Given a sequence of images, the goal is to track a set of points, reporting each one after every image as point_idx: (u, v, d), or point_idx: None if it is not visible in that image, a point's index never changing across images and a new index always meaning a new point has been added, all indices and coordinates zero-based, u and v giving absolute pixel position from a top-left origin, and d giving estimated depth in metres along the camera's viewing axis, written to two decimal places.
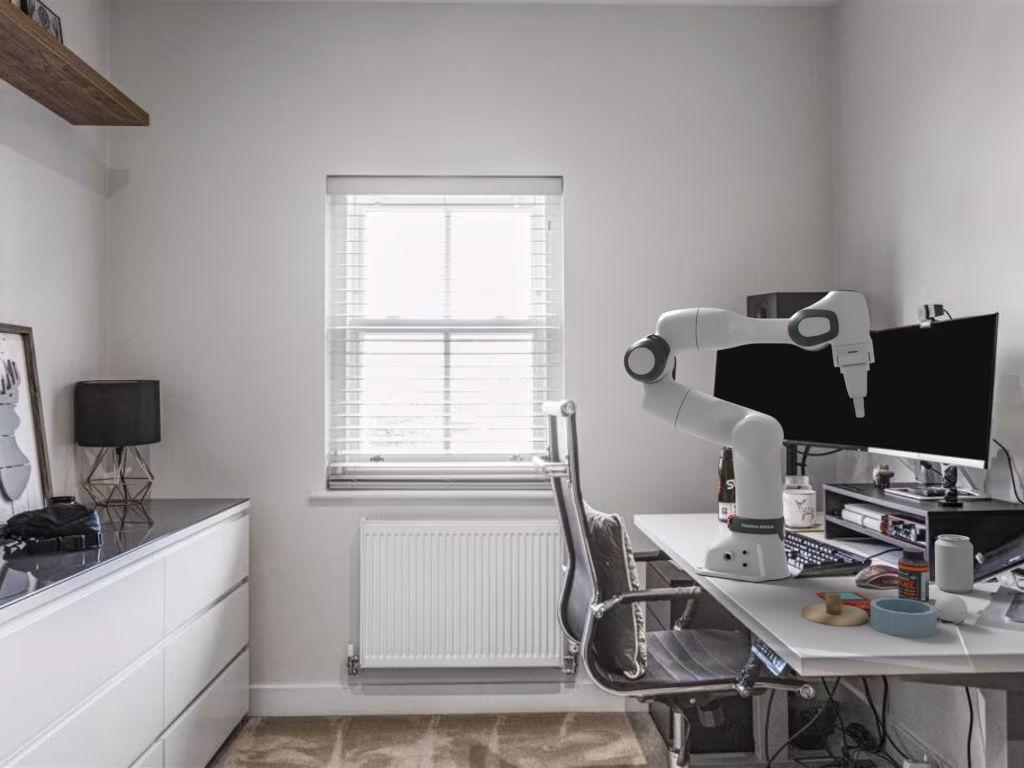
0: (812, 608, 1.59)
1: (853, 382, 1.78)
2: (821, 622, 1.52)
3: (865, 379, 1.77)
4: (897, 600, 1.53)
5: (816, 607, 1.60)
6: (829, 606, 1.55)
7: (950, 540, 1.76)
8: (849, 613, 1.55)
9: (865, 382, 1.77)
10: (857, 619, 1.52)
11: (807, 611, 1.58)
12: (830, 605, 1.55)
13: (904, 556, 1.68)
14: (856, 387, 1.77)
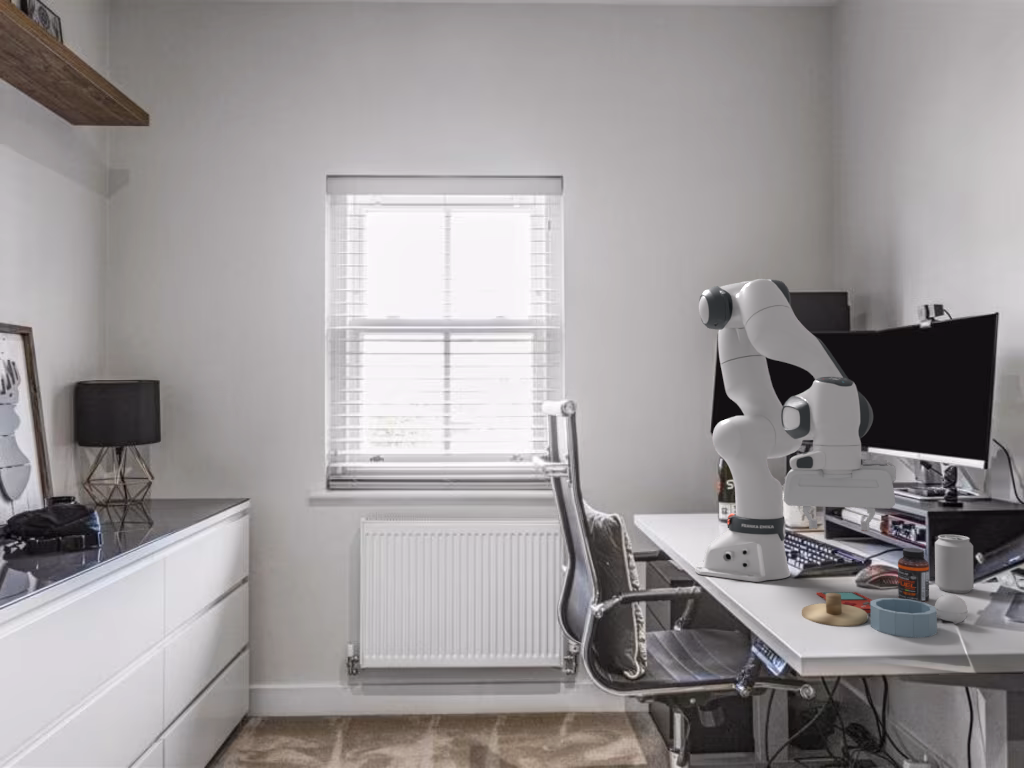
0: (812, 608, 1.59)
1: None
2: (821, 622, 1.52)
3: (785, 486, 1.58)
4: (897, 600, 1.53)
5: (816, 607, 1.60)
6: (829, 606, 1.55)
7: (950, 540, 1.76)
8: (849, 614, 1.55)
9: (784, 490, 1.58)
10: (857, 619, 1.52)
11: (807, 611, 1.58)
12: (830, 605, 1.55)
13: (904, 556, 1.68)
14: None
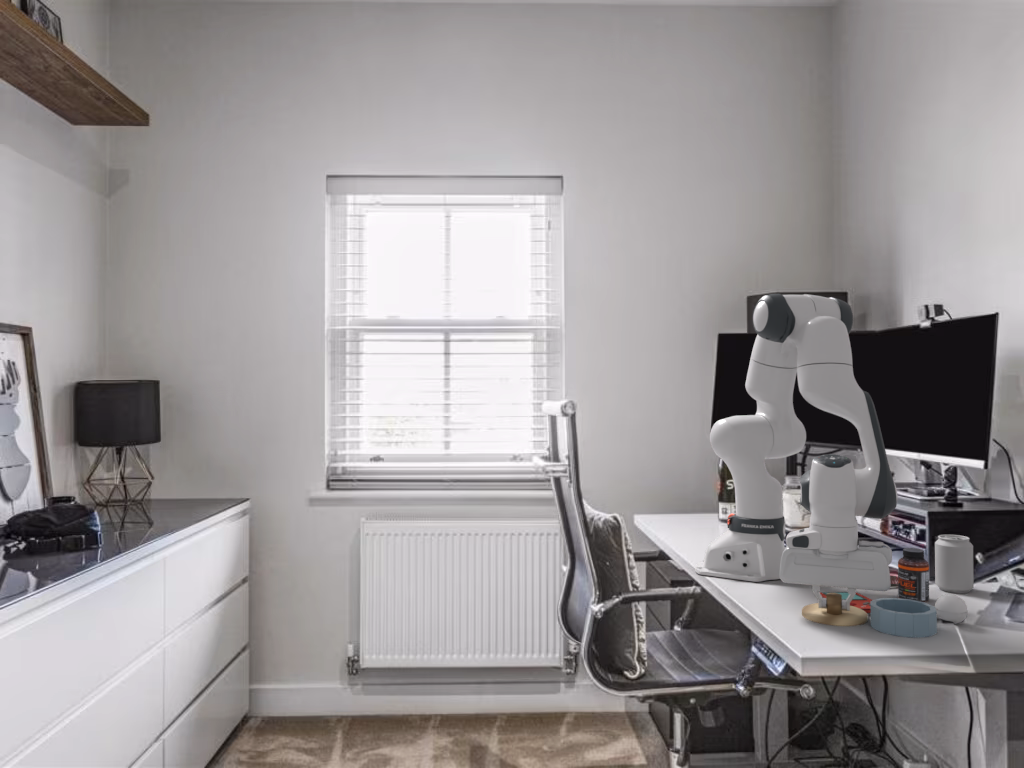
0: (813, 607, 1.59)
1: None
2: (821, 622, 1.52)
3: (780, 564, 1.58)
4: (897, 600, 1.53)
5: (816, 606, 1.60)
6: (829, 606, 1.55)
7: (950, 540, 1.76)
8: (849, 614, 1.55)
9: (780, 567, 1.58)
10: (857, 620, 1.52)
11: (807, 610, 1.58)
12: (831, 605, 1.55)
13: (904, 556, 1.68)
14: None
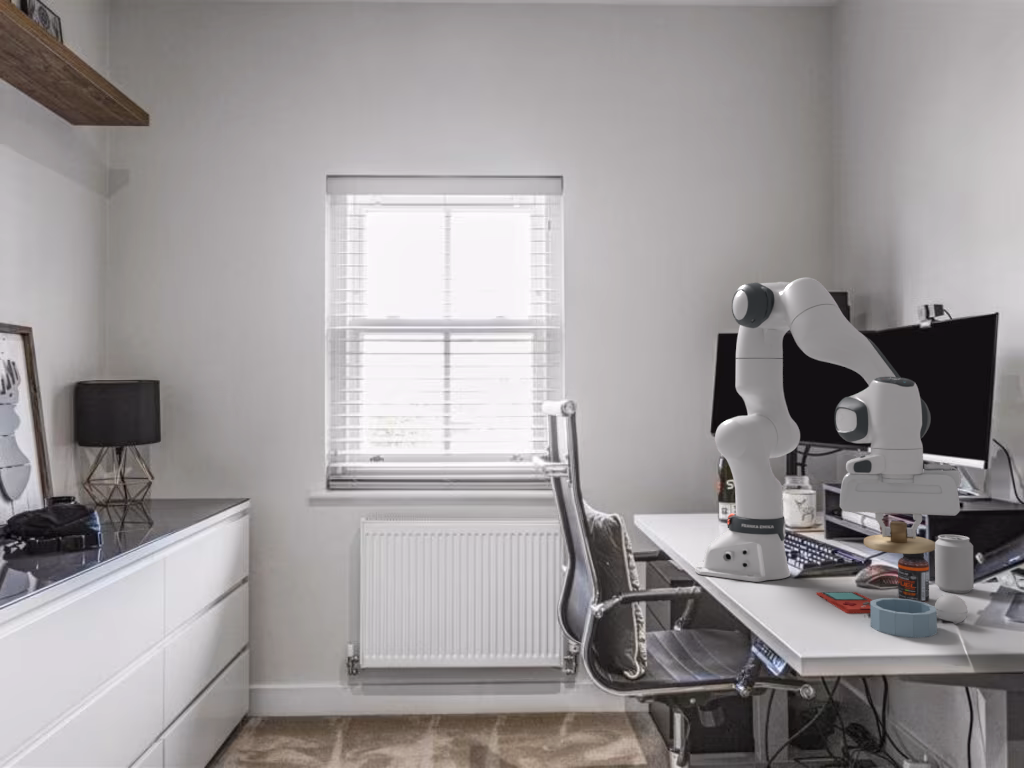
0: (875, 538, 1.52)
1: None
2: (887, 549, 1.44)
3: (841, 491, 1.51)
4: (897, 600, 1.53)
5: (878, 537, 1.52)
6: (894, 534, 1.48)
7: (950, 540, 1.76)
8: (915, 542, 1.47)
9: (840, 495, 1.51)
10: (925, 546, 1.44)
11: (870, 540, 1.50)
12: (896, 533, 1.48)
13: (904, 556, 1.68)
14: None
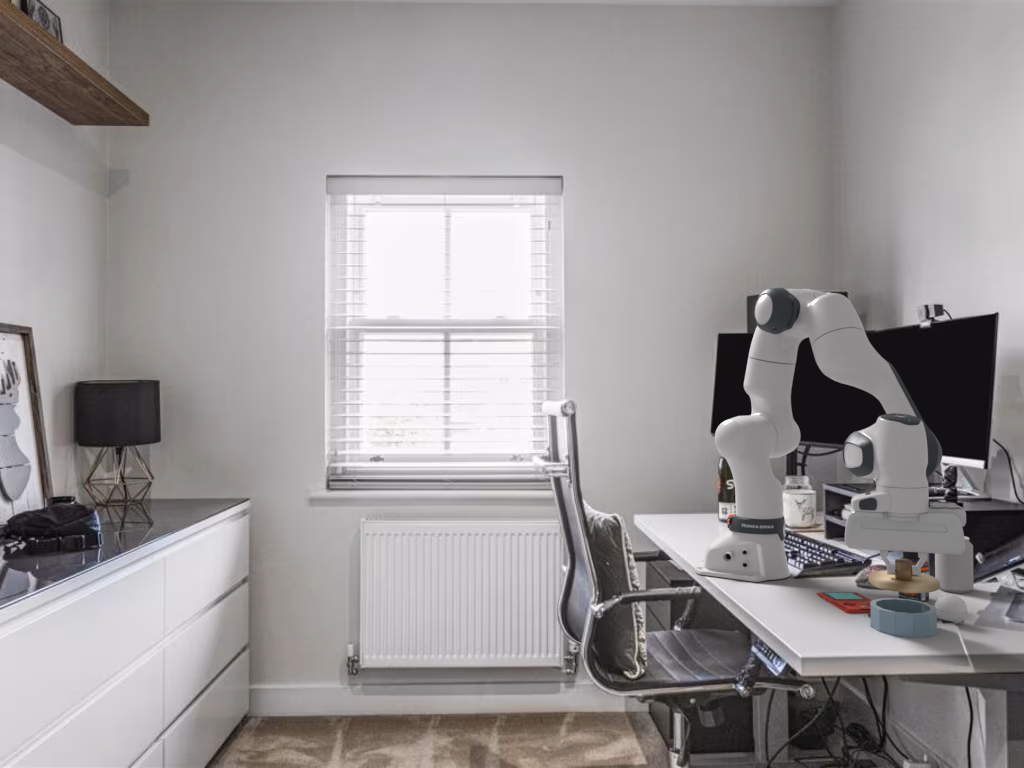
0: (879, 574, 1.52)
1: None
2: (892, 588, 1.44)
3: (846, 528, 1.51)
4: (897, 600, 1.53)
5: (883, 573, 1.52)
6: (899, 572, 1.48)
7: None
8: (920, 580, 1.47)
9: (845, 532, 1.51)
10: (930, 586, 1.44)
11: (875, 577, 1.50)
12: (901, 571, 1.47)
13: (904, 556, 1.68)
14: None
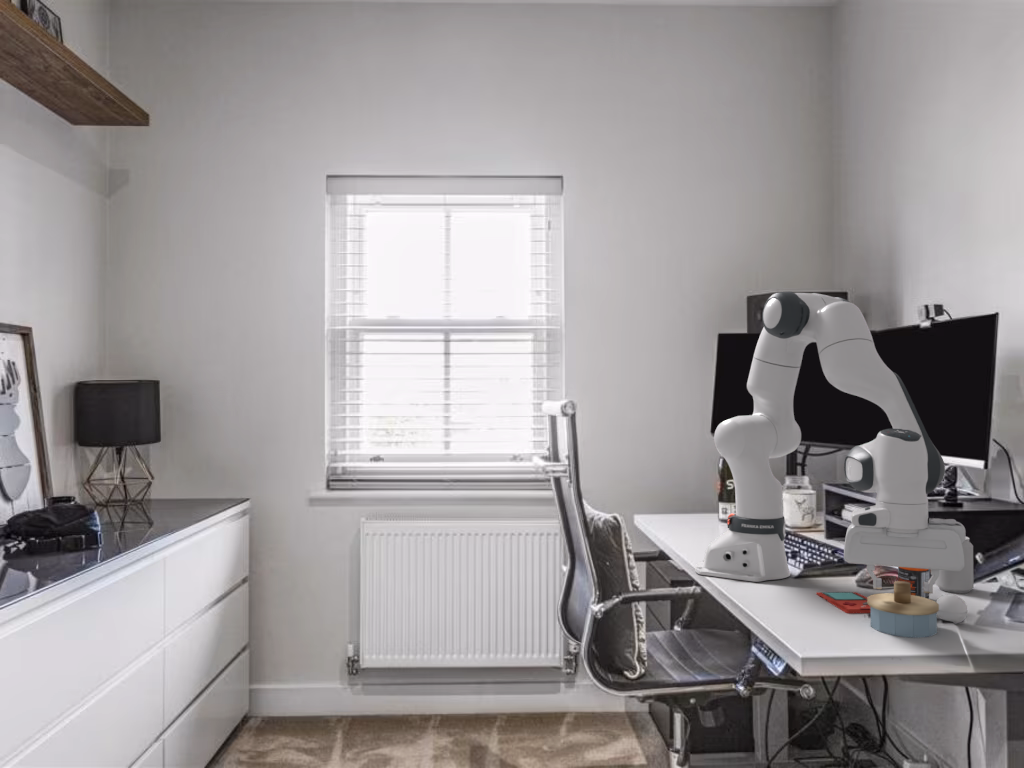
0: (878, 597, 1.52)
1: None
2: (891, 610, 1.44)
3: (845, 543, 1.51)
4: None
5: (882, 596, 1.52)
6: (898, 594, 1.48)
7: None
8: (919, 603, 1.47)
9: (845, 546, 1.51)
10: (929, 608, 1.44)
11: (873, 599, 1.50)
12: (899, 593, 1.48)
13: None
14: None
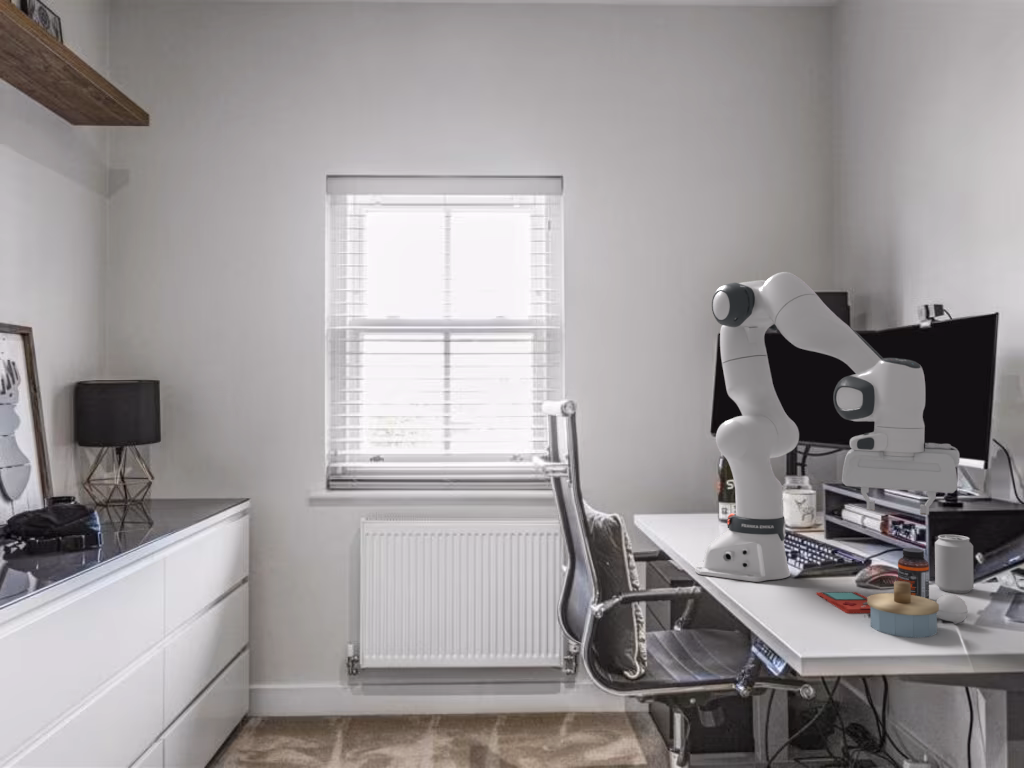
0: (878, 597, 1.52)
1: None
2: (891, 610, 1.44)
3: (843, 467, 1.57)
4: None
5: (882, 596, 1.52)
6: (898, 594, 1.48)
7: (950, 540, 1.76)
8: (919, 603, 1.47)
9: (843, 470, 1.57)
10: (929, 608, 1.44)
11: (873, 599, 1.50)
12: (899, 593, 1.48)
13: (904, 556, 1.68)
14: None
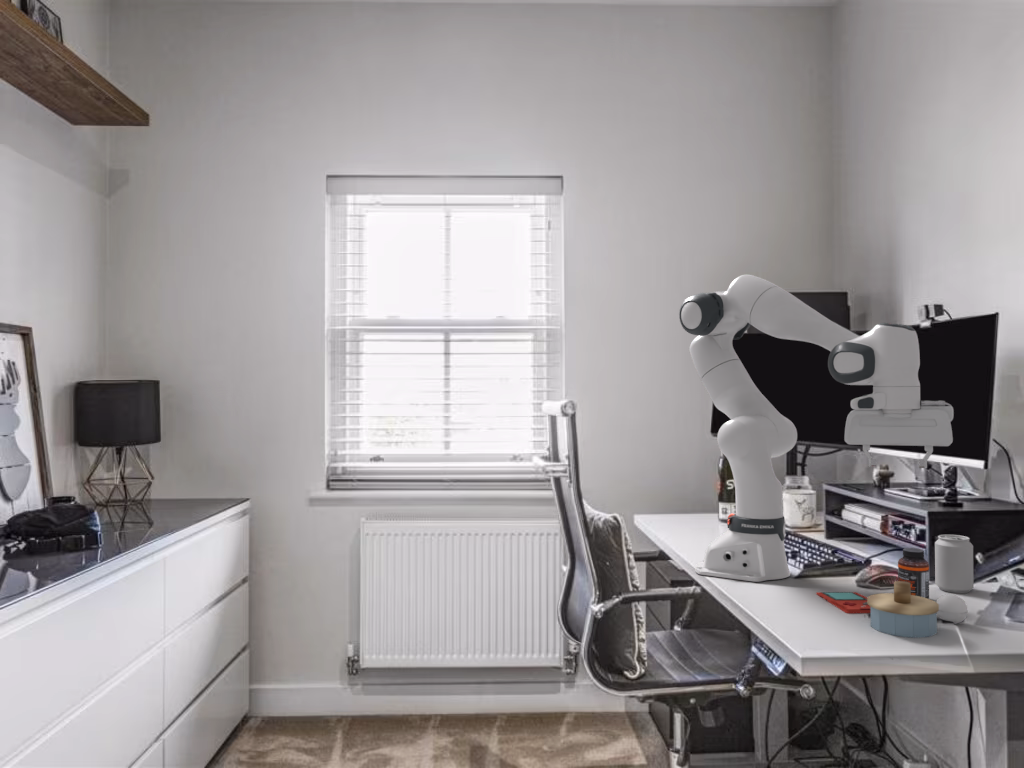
0: (878, 597, 1.52)
1: None
2: (891, 610, 1.44)
3: (846, 426, 1.67)
4: None
5: (882, 596, 1.52)
6: (898, 594, 1.48)
7: (950, 540, 1.76)
8: (919, 603, 1.47)
9: (845, 429, 1.67)
10: (929, 608, 1.44)
11: (873, 599, 1.50)
12: (899, 593, 1.48)
13: (904, 556, 1.68)
14: None
